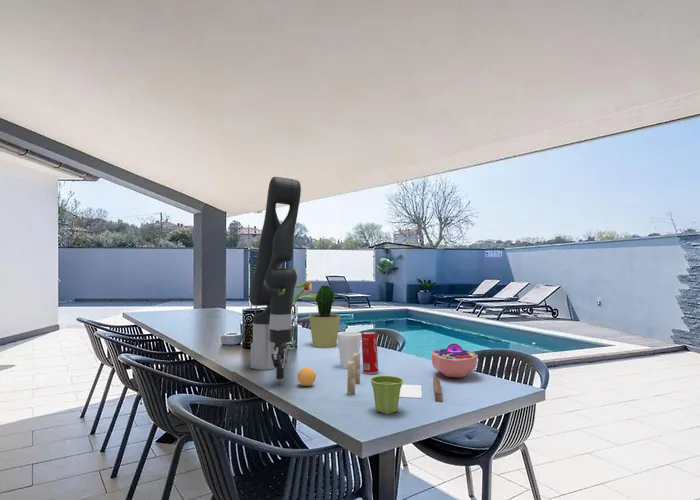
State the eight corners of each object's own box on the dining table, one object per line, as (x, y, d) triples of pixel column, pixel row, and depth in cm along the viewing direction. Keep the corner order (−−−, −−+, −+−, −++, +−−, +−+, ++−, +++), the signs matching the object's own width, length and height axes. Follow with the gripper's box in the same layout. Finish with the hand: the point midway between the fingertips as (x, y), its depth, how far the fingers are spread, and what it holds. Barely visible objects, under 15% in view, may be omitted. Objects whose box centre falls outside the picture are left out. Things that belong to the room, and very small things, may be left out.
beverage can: (377, 375, 169) (377, 334, 169) (359, 373, 170) (360, 333, 171) (379, 371, 175) (379, 331, 175) (362, 370, 176) (363, 330, 176)
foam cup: (343, 370, 176) (344, 336, 176) (333, 365, 184) (333, 332, 184) (365, 367, 180) (365, 334, 180) (354, 362, 188) (354, 331, 188)
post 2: (352, 383, 157) (352, 354, 157) (353, 381, 159) (353, 352, 159) (359, 384, 156) (359, 354, 157) (360, 382, 159) (360, 353, 159)
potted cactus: (304, 348, 218) (305, 284, 218) (312, 342, 233) (313, 283, 233) (336, 349, 215) (337, 285, 216) (342, 343, 230) (343, 283, 231)
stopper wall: (435, 401, 139) (435, 392, 139) (433, 385, 156) (433, 377, 157) (442, 401, 138) (442, 393, 138) (439, 385, 156) (439, 377, 156)
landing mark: (376, 395, 143) (376, 395, 143) (379, 383, 157) (379, 383, 157) (421, 398, 141) (421, 397, 141) (421, 386, 155) (421, 385, 155)
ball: (295, 387, 151) (295, 369, 151) (299, 382, 157) (300, 365, 157) (313, 388, 150) (313, 370, 150) (317, 383, 156) (317, 366, 156)
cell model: (425, 380, 163) (425, 348, 163) (436, 367, 182) (436, 339, 182) (474, 385, 157) (474, 352, 157) (480, 372, 175) (480, 342, 176)
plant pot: (367, 405, 134) (368, 375, 134) (399, 404, 135) (400, 375, 135) (372, 416, 125) (372, 384, 125) (406, 415, 126) (406, 383, 126)
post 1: (346, 394, 144) (347, 362, 144) (347, 392, 146) (348, 361, 146) (354, 395, 144) (354, 363, 144) (355, 393, 146) (355, 361, 146)
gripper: (275, 324, 162) (275, 373, 162) (263, 329, 149) (263, 383, 149) (296, 324, 161) (295, 374, 161) (286, 330, 148) (285, 384, 148)
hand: (280, 378), depth 155 cm, fingers closed
